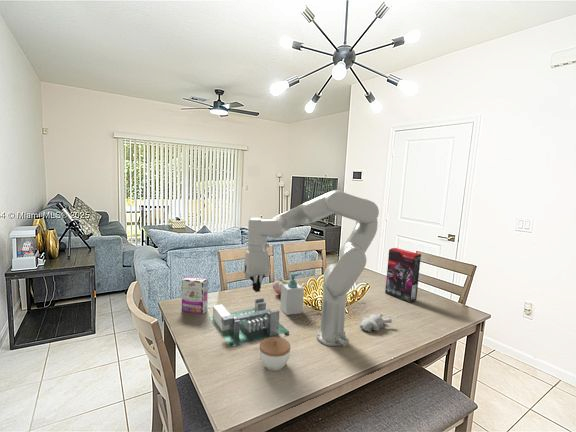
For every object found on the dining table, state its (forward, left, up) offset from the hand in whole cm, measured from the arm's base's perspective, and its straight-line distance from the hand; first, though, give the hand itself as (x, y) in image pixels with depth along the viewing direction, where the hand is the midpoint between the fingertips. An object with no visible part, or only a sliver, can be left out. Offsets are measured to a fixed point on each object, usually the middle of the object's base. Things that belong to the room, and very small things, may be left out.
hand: (256, 290), depth 126 cm
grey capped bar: (0, +4, -12) cm, 12 cm away
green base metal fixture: (+6, +1, -18) cm, 19 cm away
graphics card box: (-1, -92, -18) cm, 94 cm away
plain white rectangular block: (+11, +11, -17) cm, 23 cm away
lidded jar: (-24, +4, -18) cm, 30 cm away
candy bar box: (+29, +18, -18) cm, 39 cm away
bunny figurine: (-20, -50, -19) cm, 57 cm away
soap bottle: (+11, -25, -18) cm, 33 cm away
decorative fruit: (+30, -30, -18) cm, 46 cm away
